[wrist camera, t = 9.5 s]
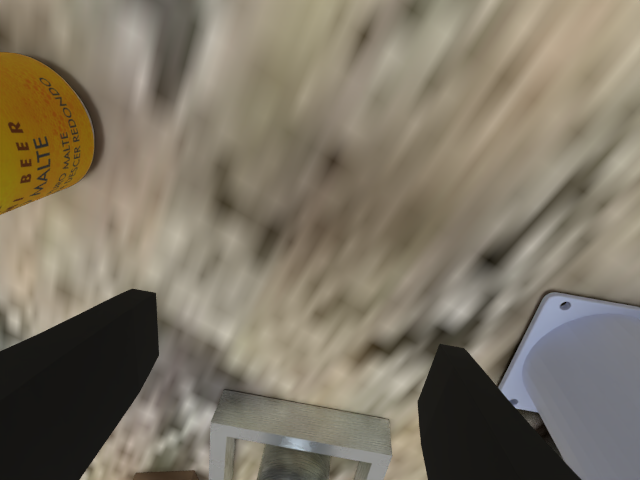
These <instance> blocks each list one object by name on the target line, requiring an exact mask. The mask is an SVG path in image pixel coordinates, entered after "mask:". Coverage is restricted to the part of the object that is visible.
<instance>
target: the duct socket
mask: <svg viewBox="0 0 640 480" xmlns="http://www.w3.org/2000/svg"><path fill="white" fill-rule="evenodd" d="M236 438H237V439H243V440H248V441H254V442H259V443H264V444H270V445H275V446H281V447H286V448H292V449H297V450H302V451H308V452H313V453H319V454H324V455H329V456H335V457H340V458H346V459H351V460H356V461H360V462H359V465H358V468H357V471H356V475H355V478H354V480H383V479H384V477H385V474H386V471H387V469H388V466H389V463H390V460H391V458H392V449H391V438H390V428H389V419H383V418H378V417H372V416H367V415H361V414H356V413H350V412H345V411H339V410H334V409H329V408H323V407H318V406H312V405H307V404H301V403H296V402H290V401H285V400H279V399H274V398H268V397H263V396H257V395H252V394H246V393H241V392H236V391H230V390H225V389H224V391H223V394H222V396H221V399H220V401H219V404H218V406H217V408H216V411H215V413H214V416H213V418H212V421H211V431H210V460H209V480H232V476H233V464H234V451H235V439H236Z"/></svg>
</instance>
